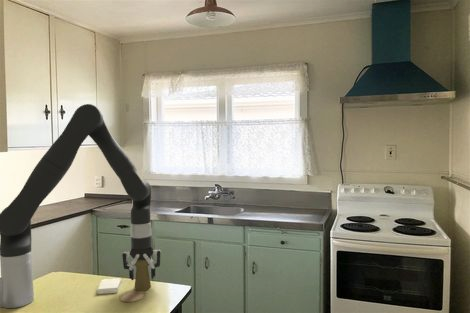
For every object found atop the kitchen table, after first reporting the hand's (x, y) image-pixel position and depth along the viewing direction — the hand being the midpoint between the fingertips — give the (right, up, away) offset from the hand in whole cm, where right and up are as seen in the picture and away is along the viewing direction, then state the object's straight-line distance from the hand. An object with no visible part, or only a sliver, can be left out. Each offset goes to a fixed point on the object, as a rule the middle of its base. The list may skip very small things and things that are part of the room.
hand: (142, 278), depth 138 cm
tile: (-11, -3, -5) cm, 13 cm away
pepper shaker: (0, -4, 0) cm, 4 cm away
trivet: (-2, -4, -8) cm, 9 cm away
